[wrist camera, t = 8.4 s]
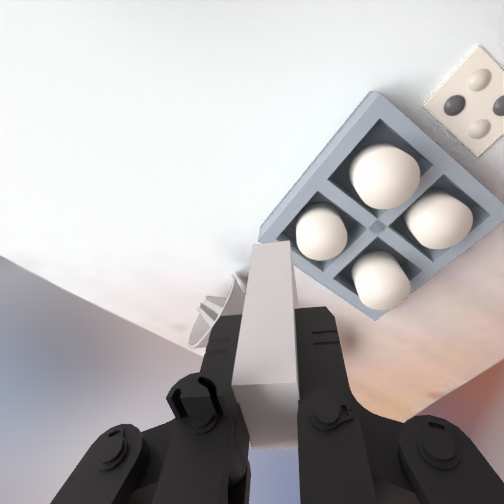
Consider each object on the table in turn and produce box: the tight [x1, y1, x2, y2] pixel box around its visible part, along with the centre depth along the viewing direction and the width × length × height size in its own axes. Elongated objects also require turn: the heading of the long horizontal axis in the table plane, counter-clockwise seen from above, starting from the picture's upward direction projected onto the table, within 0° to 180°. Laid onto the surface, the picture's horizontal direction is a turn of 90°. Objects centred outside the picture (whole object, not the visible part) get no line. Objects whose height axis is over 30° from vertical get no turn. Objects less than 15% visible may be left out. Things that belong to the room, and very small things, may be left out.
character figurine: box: [188, 274, 245, 349], centre depth 41 cm, size 13×9×20 cm
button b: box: [351, 251, 411, 310], centre depth 34 cm, size 5×5×4 cm
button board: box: [258, 92, 504, 321], centre depth 34 cm, size 18×18×4 cm
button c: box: [349, 142, 420, 210], centre depth 29 cm, size 5×5×4 cm
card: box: [422, 46, 504, 157], centre depth 29 cm, size 8×6×1 cm
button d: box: [296, 202, 347, 261], centre depth 34 cm, size 5×5×4 cm
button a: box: [402, 188, 473, 249], centre depth 32 cm, size 5×5×4 cm
